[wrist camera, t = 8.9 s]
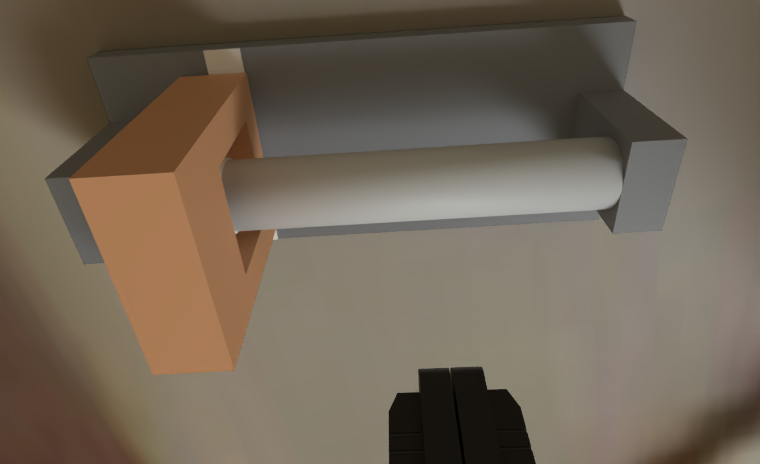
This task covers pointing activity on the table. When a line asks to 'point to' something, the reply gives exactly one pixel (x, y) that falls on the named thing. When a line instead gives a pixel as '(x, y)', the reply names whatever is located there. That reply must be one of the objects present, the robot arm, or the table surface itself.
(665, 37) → the table surface
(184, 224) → the collar
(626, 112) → the pipe rail
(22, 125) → the table surface
